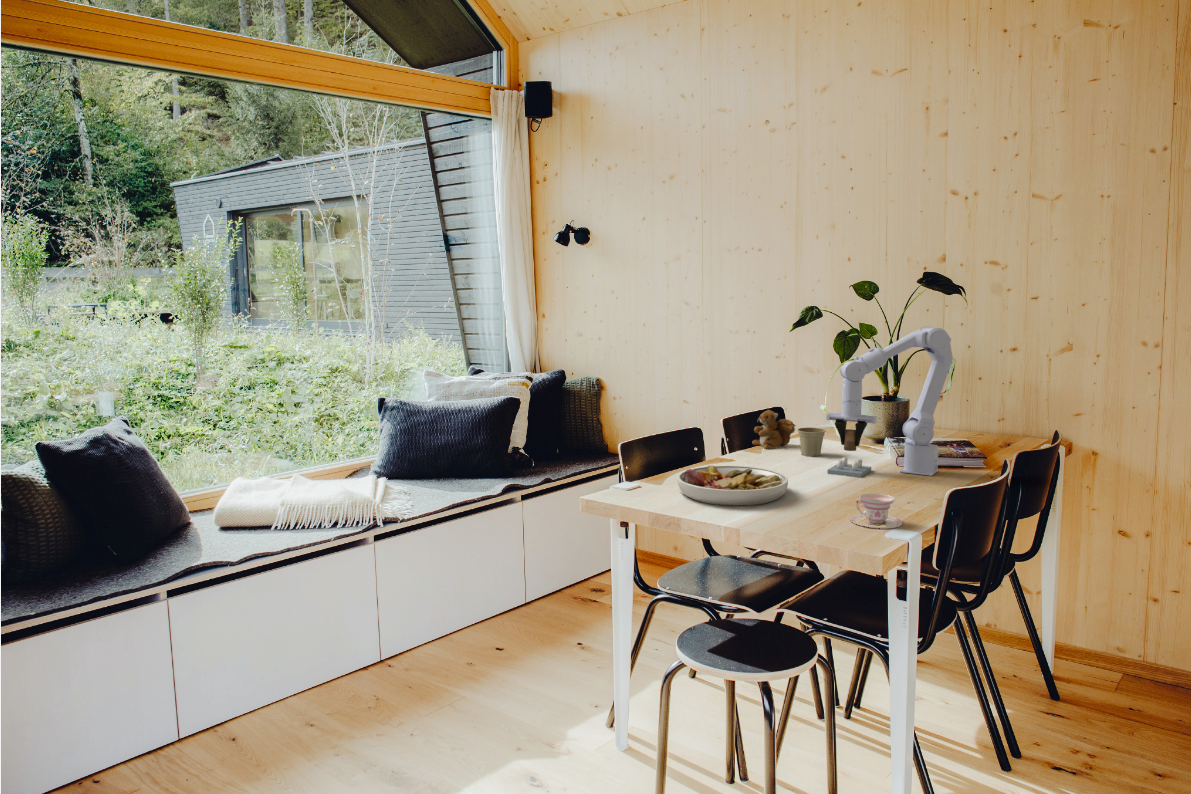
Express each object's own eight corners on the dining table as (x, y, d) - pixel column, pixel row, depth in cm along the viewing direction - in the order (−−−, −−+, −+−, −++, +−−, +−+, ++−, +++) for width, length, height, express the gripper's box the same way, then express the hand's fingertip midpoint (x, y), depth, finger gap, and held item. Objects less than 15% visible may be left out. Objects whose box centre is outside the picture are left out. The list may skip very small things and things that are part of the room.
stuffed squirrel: (749, 444, 297) (750, 408, 296) (786, 443, 300) (787, 407, 298) (760, 449, 288) (760, 412, 286) (798, 448, 290) (798, 411, 288)
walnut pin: (858, 450, 250) (859, 430, 249) (849, 451, 248) (850, 431, 247) (850, 448, 253) (850, 428, 252) (841, 449, 251) (841, 430, 251)
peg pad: (871, 470, 253) (871, 458, 253) (860, 477, 244) (860, 465, 244) (839, 466, 259) (839, 455, 259) (827, 473, 250) (827, 461, 250)
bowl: (749, 478, 247) (750, 452, 246) (810, 502, 219) (810, 473, 218) (659, 488, 236) (659, 461, 235) (710, 514, 208) (710, 483, 207)
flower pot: (826, 458, 273) (827, 432, 271) (797, 457, 274) (798, 431, 273) (823, 452, 282) (824, 427, 281) (795, 451, 283) (796, 427, 282)
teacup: (891, 515, 205) (892, 491, 204) (910, 529, 193) (911, 503, 192) (843, 516, 204) (844, 492, 204) (859, 530, 193) (860, 504, 192)
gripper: (879, 400, 248) (877, 444, 250) (831, 397, 256) (830, 440, 258) (874, 403, 242) (872, 448, 244) (824, 400, 250) (823, 444, 252)
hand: (850, 445), depth 251 cm, fingers closed on walnut pin, 4 cm apart
